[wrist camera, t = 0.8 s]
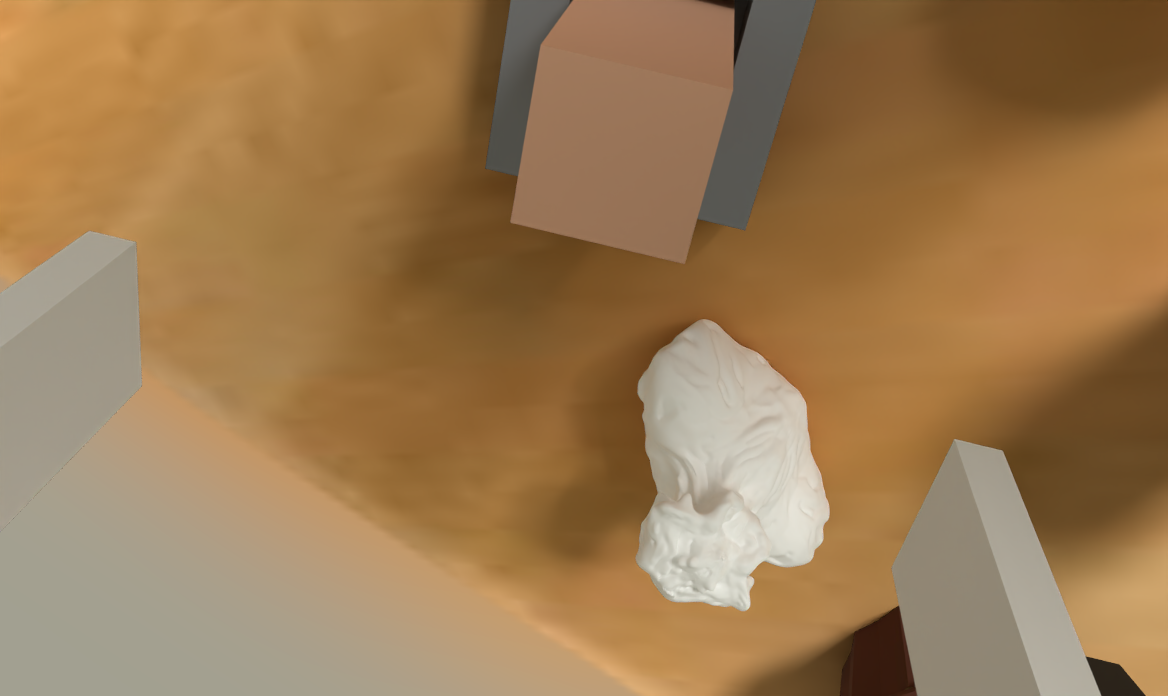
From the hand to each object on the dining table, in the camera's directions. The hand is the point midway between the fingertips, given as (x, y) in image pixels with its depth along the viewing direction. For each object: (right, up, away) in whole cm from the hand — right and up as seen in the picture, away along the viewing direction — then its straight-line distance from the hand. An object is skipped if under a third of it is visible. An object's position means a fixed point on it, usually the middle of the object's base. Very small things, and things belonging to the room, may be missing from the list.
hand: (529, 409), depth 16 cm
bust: (+7, -2, +29) cm, 30 cm away
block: (+3, +12, +21) cm, 24 cm away
